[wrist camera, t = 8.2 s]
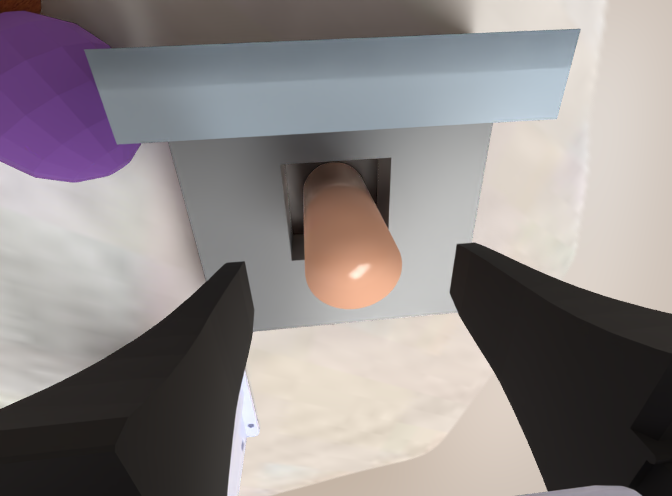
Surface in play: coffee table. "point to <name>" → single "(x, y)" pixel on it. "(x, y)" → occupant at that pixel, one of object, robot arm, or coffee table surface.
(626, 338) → the robot arm
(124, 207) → the coffee table surface
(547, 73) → the socket
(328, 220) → the peg
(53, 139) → the kendama
